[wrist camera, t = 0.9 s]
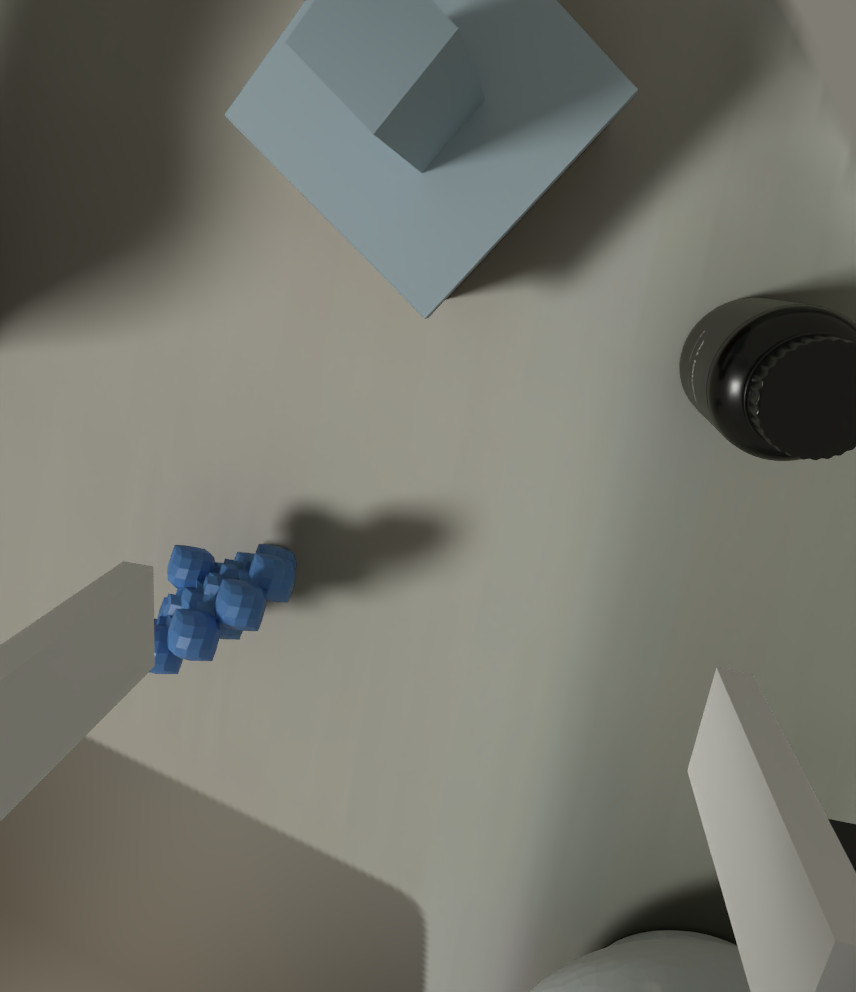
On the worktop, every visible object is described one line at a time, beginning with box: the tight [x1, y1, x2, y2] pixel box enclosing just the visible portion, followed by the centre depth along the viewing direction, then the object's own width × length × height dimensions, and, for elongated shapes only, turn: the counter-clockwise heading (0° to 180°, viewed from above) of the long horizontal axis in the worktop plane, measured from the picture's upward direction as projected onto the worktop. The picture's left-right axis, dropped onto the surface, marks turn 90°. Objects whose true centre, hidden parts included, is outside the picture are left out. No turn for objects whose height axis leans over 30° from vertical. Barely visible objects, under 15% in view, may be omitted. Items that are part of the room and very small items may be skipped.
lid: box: [225, 0, 638, 319], centre depth 27 cm, size 13×13×10 cm
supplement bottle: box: [680, 297, 856, 461], centre depth 32 cm, size 7×7×12 cm
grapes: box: [149, 544, 297, 674], centre depth 41 cm, size 12×7×12 cm, turn 121°
